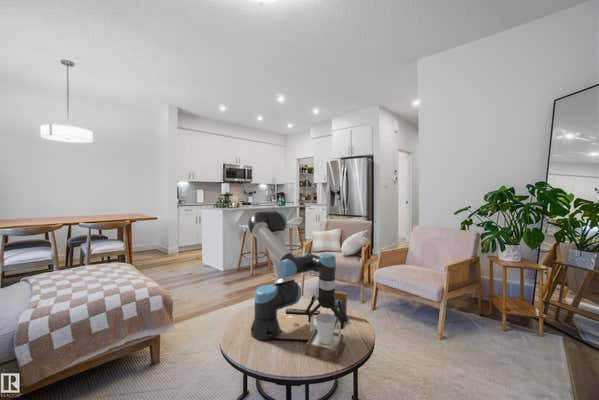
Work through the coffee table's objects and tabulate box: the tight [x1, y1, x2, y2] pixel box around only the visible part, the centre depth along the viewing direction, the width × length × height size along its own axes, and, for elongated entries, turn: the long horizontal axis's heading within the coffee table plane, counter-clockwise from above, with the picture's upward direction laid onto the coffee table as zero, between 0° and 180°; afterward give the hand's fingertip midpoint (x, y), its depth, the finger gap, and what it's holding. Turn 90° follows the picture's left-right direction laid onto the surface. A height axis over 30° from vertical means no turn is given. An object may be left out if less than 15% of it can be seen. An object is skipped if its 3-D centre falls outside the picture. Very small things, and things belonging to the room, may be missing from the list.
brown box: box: [303, 328, 346, 364], centre depth 122 cm, size 16×14×5 cm
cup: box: [314, 312, 337, 345], centre depth 122 cm, size 10×10×11 cm
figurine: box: [332, 290, 348, 325], centre depth 151 cm, size 14×18×8 cm
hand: (325, 332), depth 122 cm, fingers open, 13 cm apart
